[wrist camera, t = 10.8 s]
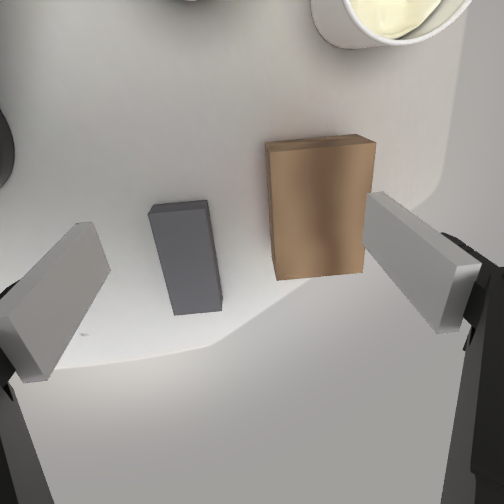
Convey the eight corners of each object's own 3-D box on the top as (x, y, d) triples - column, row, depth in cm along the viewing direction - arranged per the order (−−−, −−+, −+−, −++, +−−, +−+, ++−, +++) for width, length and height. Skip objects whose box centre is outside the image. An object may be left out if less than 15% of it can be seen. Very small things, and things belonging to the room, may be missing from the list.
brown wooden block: (271, 257, 37) (276, 280, 32) (265, 142, 30) (269, 152, 26) (347, 249, 37) (362, 272, 32) (356, 134, 30) (376, 142, 26)
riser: (177, 302, 45) (174, 315, 43) (153, 205, 38) (147, 213, 36) (222, 297, 45) (221, 310, 43) (207, 199, 38) (205, 208, 36)
